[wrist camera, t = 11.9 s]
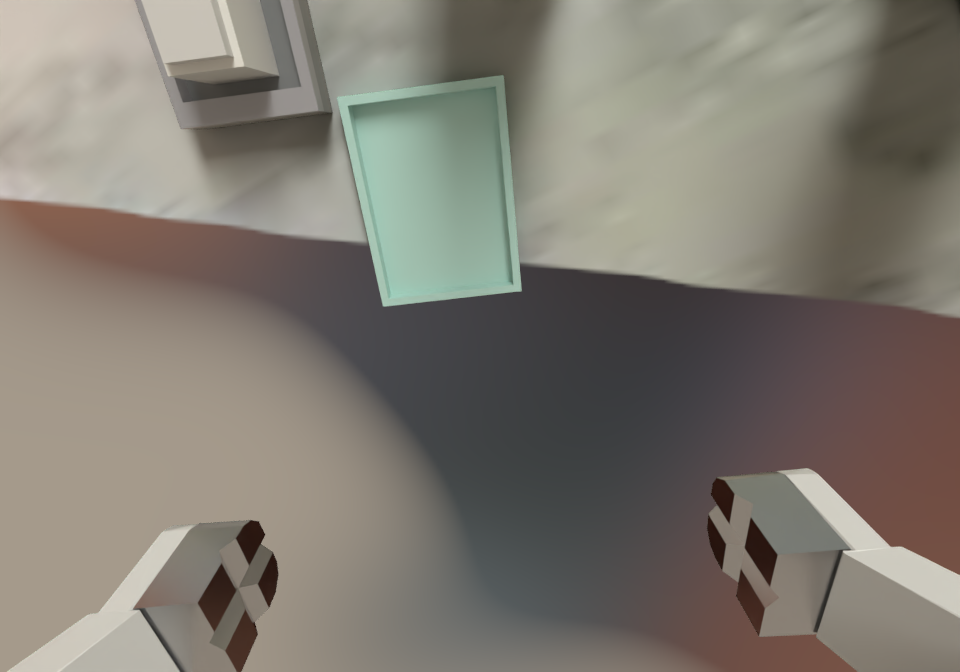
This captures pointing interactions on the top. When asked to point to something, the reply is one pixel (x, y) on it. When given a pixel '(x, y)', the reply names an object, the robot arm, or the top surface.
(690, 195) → the top surface
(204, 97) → the grey compartment holder
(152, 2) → the plug
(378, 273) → the tray
